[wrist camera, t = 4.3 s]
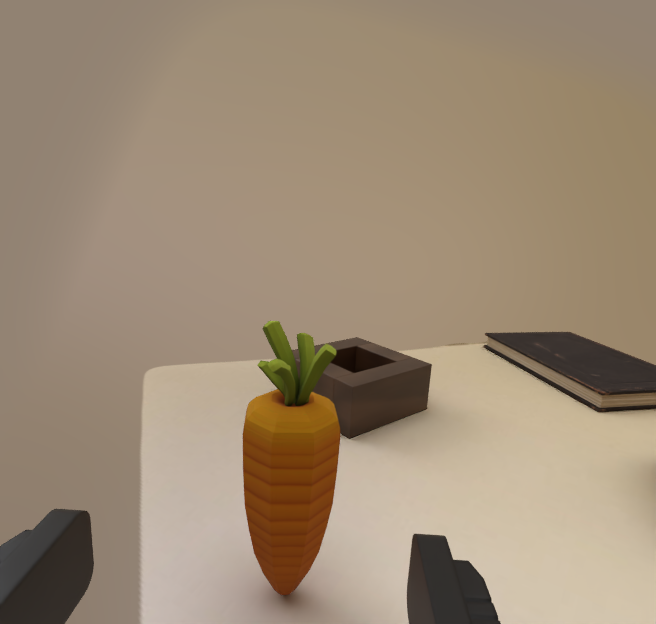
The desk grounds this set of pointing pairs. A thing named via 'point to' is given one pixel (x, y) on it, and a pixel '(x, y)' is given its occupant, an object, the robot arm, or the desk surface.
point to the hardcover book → (581, 368)
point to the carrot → (290, 461)
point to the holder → (371, 385)
